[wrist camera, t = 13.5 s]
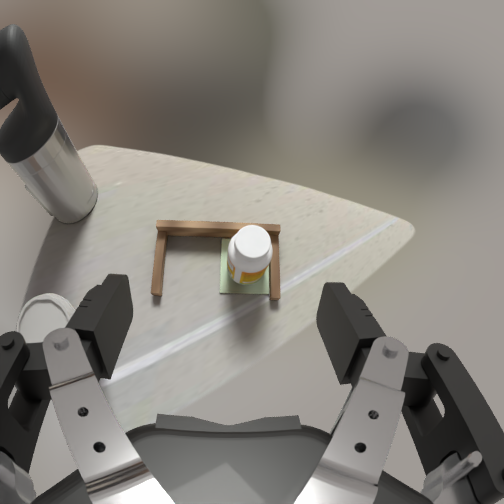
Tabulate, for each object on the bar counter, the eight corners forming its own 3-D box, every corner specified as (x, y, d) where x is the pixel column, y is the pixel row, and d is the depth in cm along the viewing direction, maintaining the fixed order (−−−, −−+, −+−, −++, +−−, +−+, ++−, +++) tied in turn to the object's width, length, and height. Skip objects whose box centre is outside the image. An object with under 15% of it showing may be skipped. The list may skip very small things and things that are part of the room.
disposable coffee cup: (126, 329, 36) (90, 317, 25) (101, 387, 32) (58, 394, 21) (77, 298, 36) (33, 275, 25) (53, 352, 33) (4, 345, 22)
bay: (153, 295, 38) (148, 290, 35) (160, 229, 42) (156, 220, 39) (278, 300, 40) (282, 295, 37) (276, 233, 43) (280, 224, 40)
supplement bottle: (271, 261, 41) (286, 234, 32) (252, 293, 39) (262, 273, 30) (239, 242, 42) (245, 210, 33) (219, 272, 40) (219, 247, 31)
